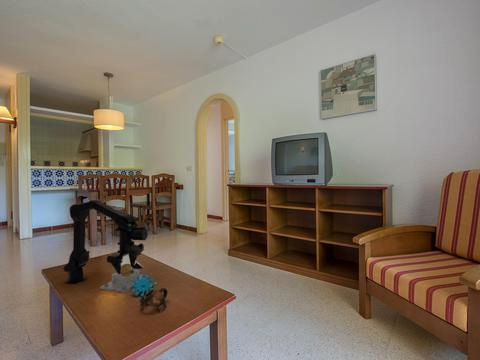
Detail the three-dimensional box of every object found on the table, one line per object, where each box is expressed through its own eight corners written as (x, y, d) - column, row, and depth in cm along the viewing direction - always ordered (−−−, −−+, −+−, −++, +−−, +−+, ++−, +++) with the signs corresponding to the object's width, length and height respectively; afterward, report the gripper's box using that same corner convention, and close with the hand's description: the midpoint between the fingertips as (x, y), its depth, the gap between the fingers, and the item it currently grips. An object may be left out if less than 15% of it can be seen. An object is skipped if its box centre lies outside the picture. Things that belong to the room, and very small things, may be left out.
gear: (130, 296, 105) (132, 273, 111) (128, 301, 108) (130, 279, 115) (156, 294, 109) (157, 273, 116) (154, 299, 113) (155, 278, 120)
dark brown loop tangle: (157, 318, 92) (146, 300, 92) (143, 322, 97) (132, 304, 96) (176, 296, 103) (166, 279, 102) (163, 300, 107) (153, 285, 107)
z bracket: (124, 265, 158) (131, 256, 161) (136, 277, 139) (144, 267, 142) (109, 254, 153) (117, 246, 155) (120, 265, 133) (128, 256, 136)
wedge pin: (121, 281, 120) (120, 265, 120) (125, 279, 123) (125, 263, 123) (126, 282, 120) (126, 266, 119) (131, 279, 123) (130, 264, 123)
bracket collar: (100, 289, 115) (99, 277, 115) (127, 274, 132) (127, 264, 132) (124, 292, 111) (124, 281, 111) (149, 277, 128) (149, 266, 128)
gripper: (125, 246, 110) (125, 280, 110) (151, 236, 128) (151, 265, 128) (105, 244, 113) (105, 277, 113) (133, 234, 131) (133, 263, 131)
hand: (125, 270), depth 121 cm, fingers open, 9 cm apart
